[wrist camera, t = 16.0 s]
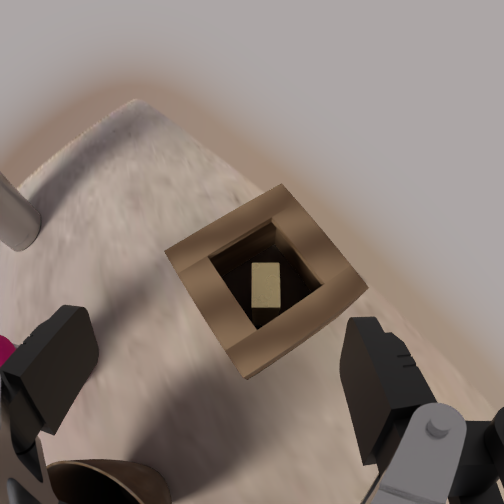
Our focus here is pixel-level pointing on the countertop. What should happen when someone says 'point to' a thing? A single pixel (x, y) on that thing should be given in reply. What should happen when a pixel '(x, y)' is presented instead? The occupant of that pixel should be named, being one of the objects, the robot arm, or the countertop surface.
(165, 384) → the countertop surface
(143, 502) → the plant pot
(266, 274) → the beige rectangular block
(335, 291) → the wooden box
